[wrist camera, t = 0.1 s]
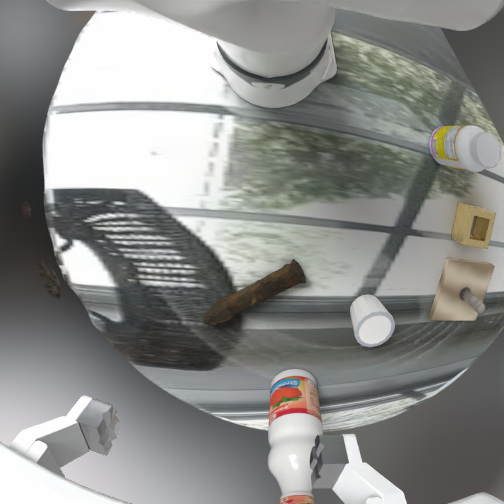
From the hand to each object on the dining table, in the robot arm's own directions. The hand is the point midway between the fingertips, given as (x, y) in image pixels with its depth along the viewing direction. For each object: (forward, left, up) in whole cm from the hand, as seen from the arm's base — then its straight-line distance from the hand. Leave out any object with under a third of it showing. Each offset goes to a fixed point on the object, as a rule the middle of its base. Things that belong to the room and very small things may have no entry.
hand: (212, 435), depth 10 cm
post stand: (+10, +40, -39) cm, 57 cm away
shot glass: (+15, +20, -39) cm, 46 cm away
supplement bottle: (-15, +29, -39) cm, 51 cm away
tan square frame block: (-3, +37, -39) cm, 54 cm away
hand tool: (+14, 0, -39) cm, 42 cm away
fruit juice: (+34, +10, -39) cm, 53 cm away
